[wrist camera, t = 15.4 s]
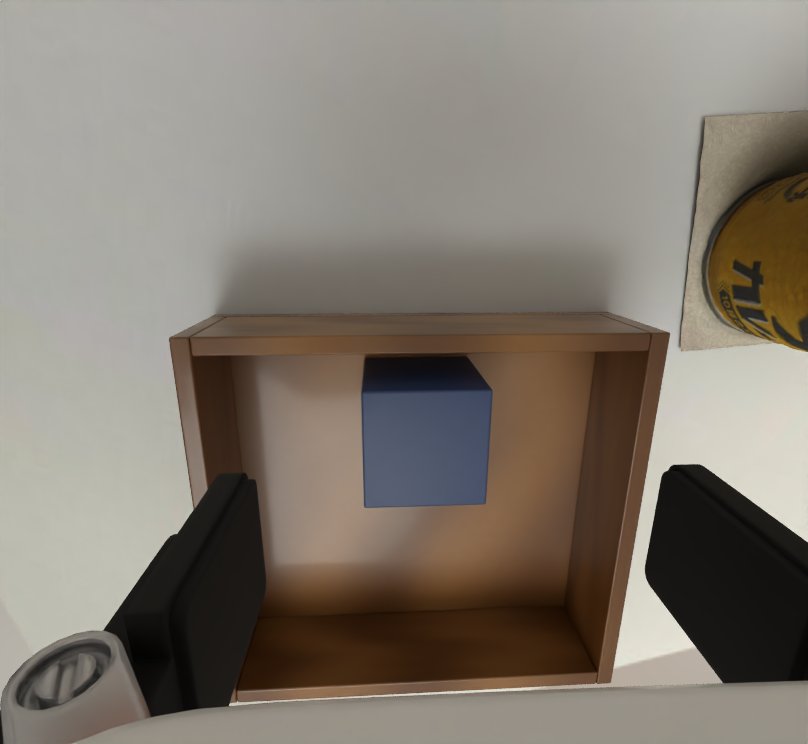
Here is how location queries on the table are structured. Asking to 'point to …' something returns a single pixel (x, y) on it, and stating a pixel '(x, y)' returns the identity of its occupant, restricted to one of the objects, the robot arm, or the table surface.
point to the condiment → (750, 235)
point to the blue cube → (424, 432)
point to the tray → (428, 525)
